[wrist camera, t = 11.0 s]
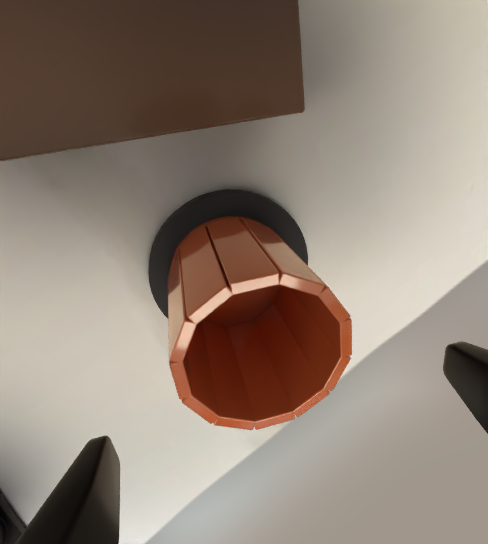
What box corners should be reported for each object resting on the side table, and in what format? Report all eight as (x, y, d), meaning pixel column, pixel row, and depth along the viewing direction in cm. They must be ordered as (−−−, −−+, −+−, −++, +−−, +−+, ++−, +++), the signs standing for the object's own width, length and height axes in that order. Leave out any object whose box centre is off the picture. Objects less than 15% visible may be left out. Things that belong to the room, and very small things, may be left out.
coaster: (308, 316, 19) (312, 322, 18) (170, 349, 18) (170, 356, 17) (298, 175, 16) (303, 177, 15) (128, 207, 15) (127, 210, 14)
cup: (291, 310, 18) (352, 403, 12) (184, 336, 17) (193, 447, 11) (281, 204, 15) (351, 256, 10) (156, 229, 15) (149, 300, 9)
